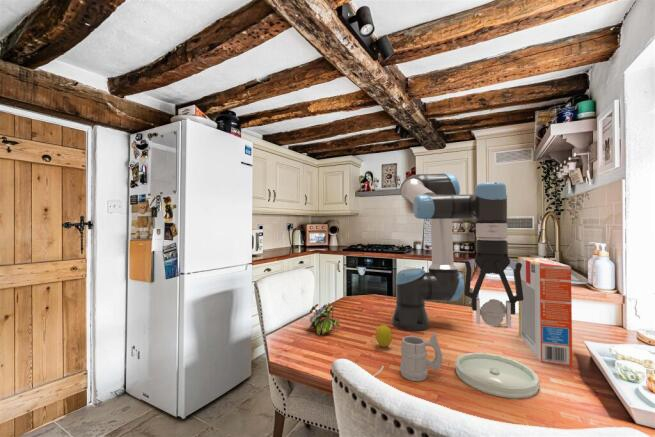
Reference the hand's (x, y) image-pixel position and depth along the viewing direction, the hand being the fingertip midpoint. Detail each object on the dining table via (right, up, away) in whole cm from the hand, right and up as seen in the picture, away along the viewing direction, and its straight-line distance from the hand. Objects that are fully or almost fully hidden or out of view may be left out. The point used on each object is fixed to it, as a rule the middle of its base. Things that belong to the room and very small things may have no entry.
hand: (493, 324), depth 80 cm
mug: (-18, -16, +4) cm, 25 cm away
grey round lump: (0, 0, 0) cm, 1 cm away
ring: (+27, -16, +43) cm, 53 cm away
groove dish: (+2, -16, +3) cm, 16 cm away
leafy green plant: (-46, -17, +39) cm, 63 cm away
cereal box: (+29, -16, +21) cm, 39 cm away
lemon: (-25, -16, +23) cm, 38 cm away
